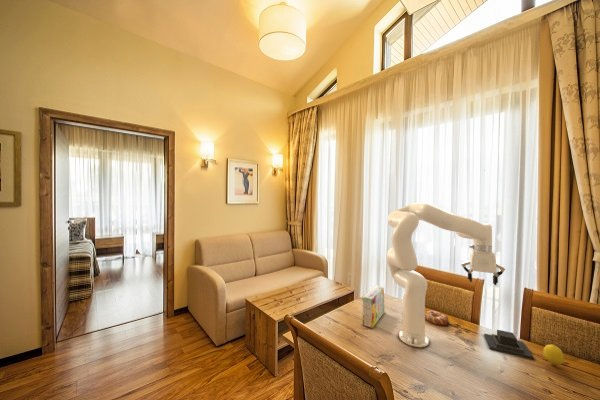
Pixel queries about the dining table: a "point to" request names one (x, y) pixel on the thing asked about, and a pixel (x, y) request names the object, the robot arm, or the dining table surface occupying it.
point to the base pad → (508, 347)
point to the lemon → (553, 354)
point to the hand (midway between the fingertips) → (482, 282)
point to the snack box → (373, 306)
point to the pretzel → (436, 318)
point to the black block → (506, 338)
